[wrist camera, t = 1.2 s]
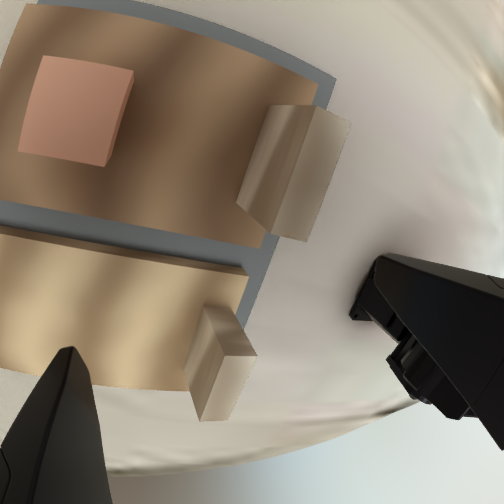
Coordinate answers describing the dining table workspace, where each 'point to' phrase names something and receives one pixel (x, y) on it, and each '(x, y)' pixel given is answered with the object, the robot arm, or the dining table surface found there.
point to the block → (75, 110)
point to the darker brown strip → (175, 132)
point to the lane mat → (157, 239)
